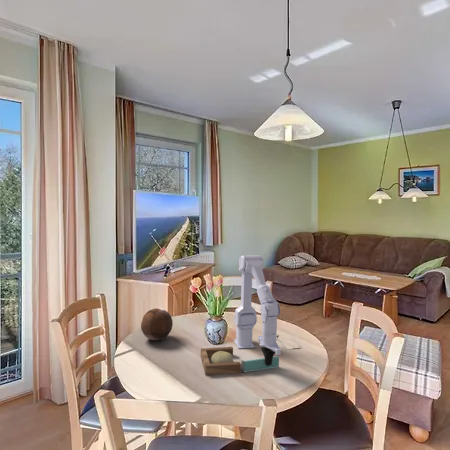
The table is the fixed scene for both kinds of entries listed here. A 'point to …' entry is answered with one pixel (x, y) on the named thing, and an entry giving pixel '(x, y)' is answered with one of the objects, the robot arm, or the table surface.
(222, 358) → the sea urchin shell
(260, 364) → the teal plank
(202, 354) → the bay
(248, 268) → the robot arm
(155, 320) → the wooden sphere
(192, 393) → the table surface
